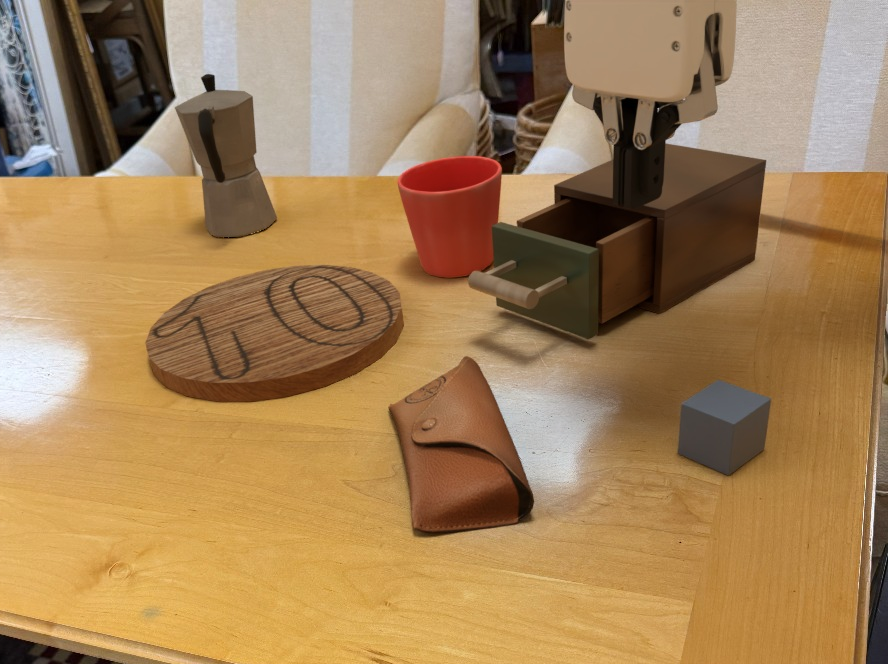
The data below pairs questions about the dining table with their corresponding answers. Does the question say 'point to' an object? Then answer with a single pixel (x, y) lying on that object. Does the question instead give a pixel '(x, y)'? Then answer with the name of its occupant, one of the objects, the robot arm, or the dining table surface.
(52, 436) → the dining table surface
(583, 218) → the drawer
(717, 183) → the cabinet
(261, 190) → the coffeepot
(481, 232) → the flower pot
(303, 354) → the trivet
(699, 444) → the block
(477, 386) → the sunglasses case
